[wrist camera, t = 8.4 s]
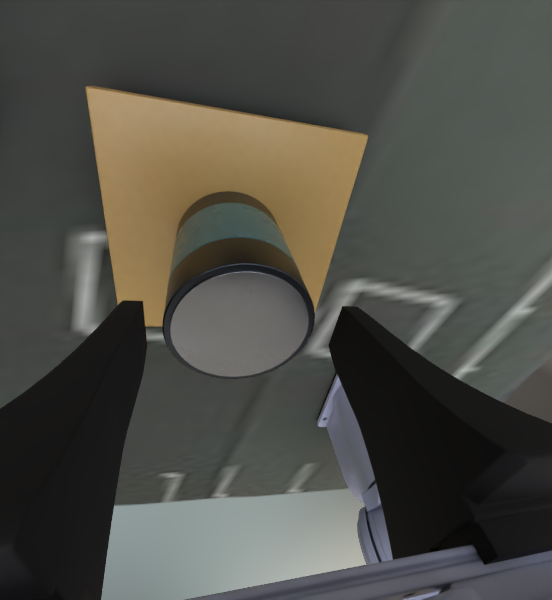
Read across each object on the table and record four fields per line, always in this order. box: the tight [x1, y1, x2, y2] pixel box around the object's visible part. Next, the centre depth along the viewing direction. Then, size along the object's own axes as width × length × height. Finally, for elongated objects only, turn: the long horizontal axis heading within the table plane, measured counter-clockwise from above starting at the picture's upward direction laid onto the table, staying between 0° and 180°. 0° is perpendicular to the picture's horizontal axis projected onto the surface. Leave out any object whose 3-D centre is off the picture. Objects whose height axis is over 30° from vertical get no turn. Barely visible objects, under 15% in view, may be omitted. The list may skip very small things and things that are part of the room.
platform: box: [86, 85, 368, 326], centre depth 18 cm, size 12×12×2 cm
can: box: [162, 191, 315, 379], centre depth 14 cm, size 5×5×7 cm
